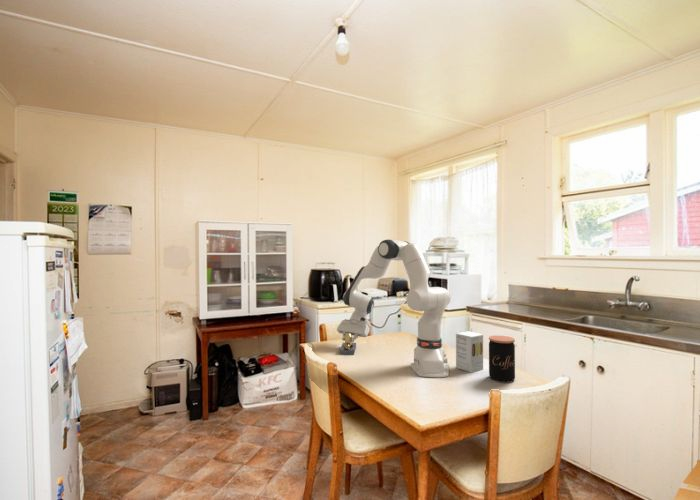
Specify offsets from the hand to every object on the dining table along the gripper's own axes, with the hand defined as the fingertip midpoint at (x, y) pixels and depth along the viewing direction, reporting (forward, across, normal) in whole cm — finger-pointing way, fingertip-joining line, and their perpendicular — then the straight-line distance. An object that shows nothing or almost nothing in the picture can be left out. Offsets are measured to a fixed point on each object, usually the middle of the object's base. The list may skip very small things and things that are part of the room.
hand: (347, 340), depth 202 cm
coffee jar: (+2, +83, +7) cm, 83 cm away
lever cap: (+4, 0, +5) cm, 6 cm away
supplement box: (-2, +67, +11) cm, 68 cm away
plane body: (+4, 0, +5) cm, 6 cm away
